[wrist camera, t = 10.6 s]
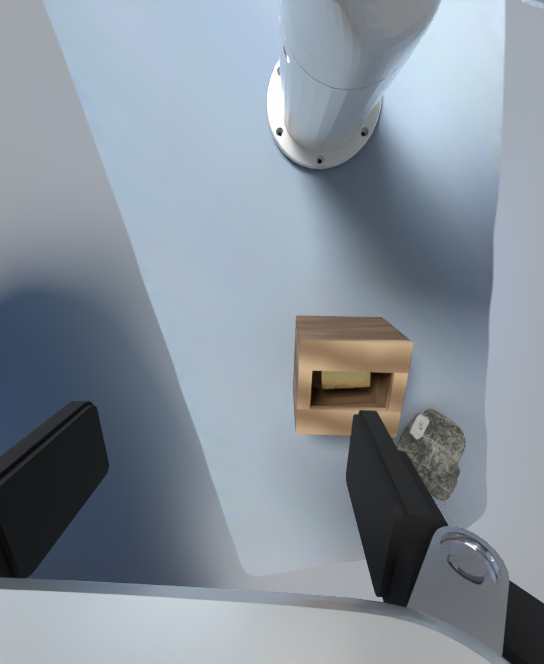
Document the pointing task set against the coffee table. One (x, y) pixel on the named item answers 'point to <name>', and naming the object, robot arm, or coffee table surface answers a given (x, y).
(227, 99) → the coffee table surface
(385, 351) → the box
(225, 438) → the coffee table surface
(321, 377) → the brushed brass block
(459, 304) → the coffee table surface
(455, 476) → the stone
